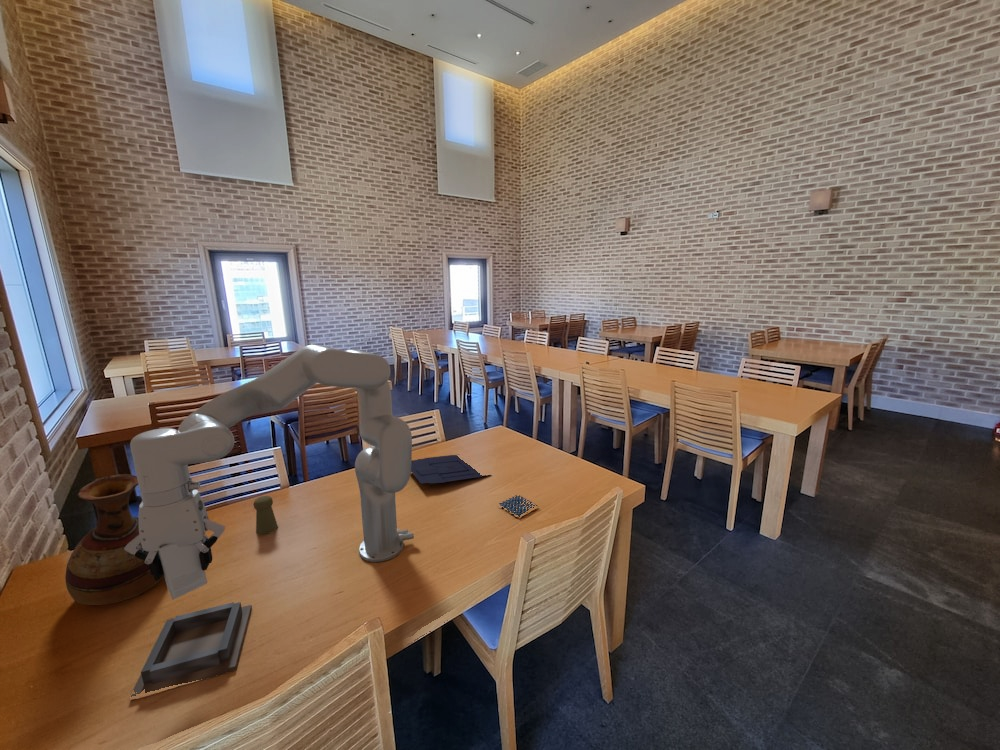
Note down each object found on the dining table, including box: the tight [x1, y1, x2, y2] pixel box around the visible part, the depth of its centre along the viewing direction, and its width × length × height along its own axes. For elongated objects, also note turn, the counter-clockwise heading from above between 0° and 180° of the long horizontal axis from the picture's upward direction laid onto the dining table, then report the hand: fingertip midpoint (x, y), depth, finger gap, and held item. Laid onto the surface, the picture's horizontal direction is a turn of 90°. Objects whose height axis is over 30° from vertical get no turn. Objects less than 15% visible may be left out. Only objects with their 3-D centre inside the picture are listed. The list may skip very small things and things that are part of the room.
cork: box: [253, 495, 279, 536], centre depth 126 cm, size 6×6×11 cm
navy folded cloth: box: [411, 454, 483, 485], centre depth 165 cm, size 24×30×4 cm
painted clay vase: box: [64, 473, 165, 606], centre depth 100 cm, size 20×20×30 cm
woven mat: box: [498, 494, 538, 517], centre depth 140 cm, size 10×11×2 cm
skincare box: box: [158, 544, 208, 600], centre depth 81 cm, size 6×4×12 cm
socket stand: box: [130, 601, 253, 697], centre depth 85 cm, size 17×17×4 cm
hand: (183, 570), depth 81 cm, fingers closed on skincare box, 7 cm apart
